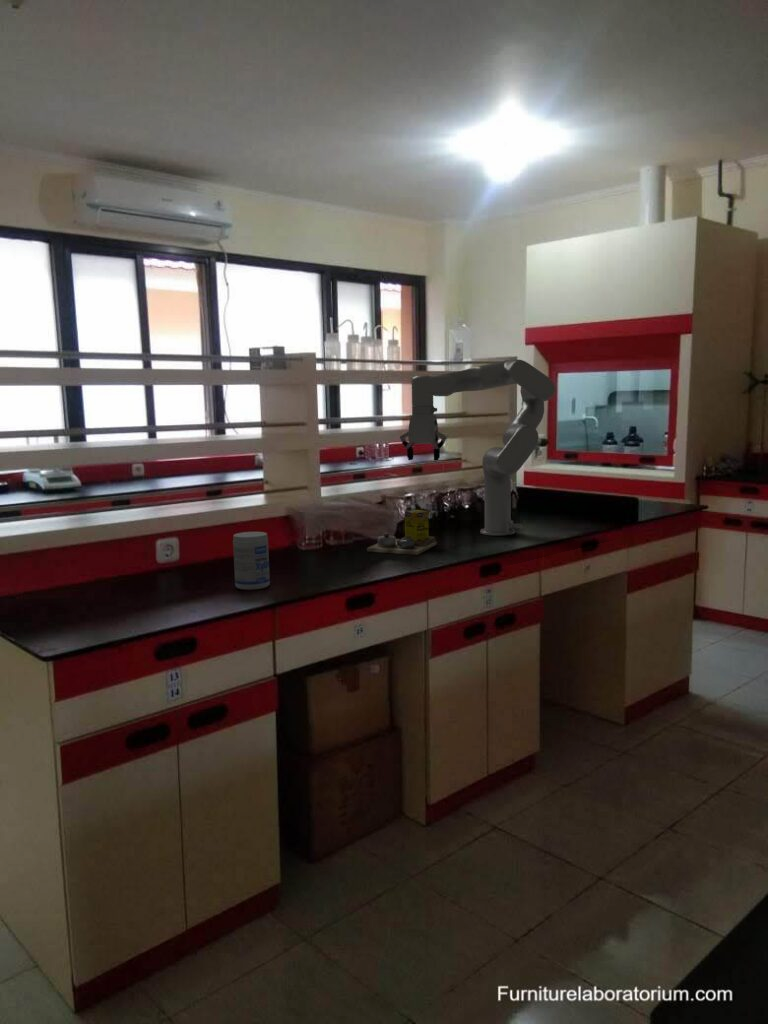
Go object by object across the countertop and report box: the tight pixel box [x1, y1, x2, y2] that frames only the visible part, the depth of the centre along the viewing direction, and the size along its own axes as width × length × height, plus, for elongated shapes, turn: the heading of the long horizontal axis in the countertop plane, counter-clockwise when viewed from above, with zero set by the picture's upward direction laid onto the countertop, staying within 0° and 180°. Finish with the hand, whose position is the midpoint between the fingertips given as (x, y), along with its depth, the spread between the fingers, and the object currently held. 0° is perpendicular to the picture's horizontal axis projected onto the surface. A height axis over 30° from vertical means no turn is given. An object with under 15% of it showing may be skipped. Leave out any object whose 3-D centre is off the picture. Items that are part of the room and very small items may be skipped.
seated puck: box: [399, 538, 415, 549], centre depth 259 cm, size 5×5×2 cm
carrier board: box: [366, 532, 437, 556], centre depth 264 cm, size 18×18×5 cm
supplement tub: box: [232, 531, 271, 591], centre depth 214 cm, size 10×10×15 cm
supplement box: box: [404, 509, 430, 541], centre depth 266 cm, size 6×6×11 cm
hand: (423, 460), depth 276 cm, fingers open, 9 cm apart
